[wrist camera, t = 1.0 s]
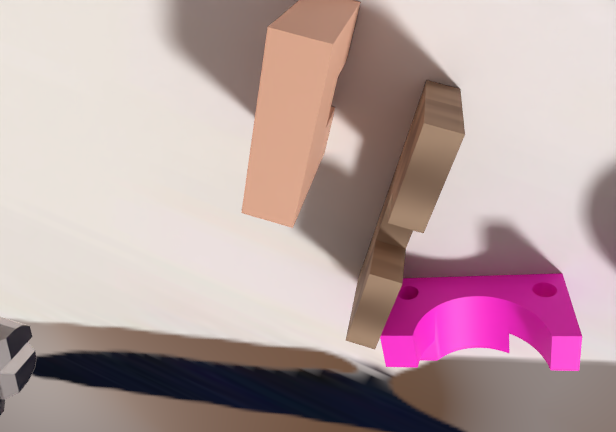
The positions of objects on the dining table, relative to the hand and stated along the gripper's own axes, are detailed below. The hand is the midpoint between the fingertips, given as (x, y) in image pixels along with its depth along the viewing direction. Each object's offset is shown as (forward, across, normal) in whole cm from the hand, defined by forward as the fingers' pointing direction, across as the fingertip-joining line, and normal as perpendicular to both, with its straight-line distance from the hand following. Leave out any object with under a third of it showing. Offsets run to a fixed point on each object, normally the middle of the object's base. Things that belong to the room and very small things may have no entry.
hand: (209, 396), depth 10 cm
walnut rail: (+31, -6, +12) cm, 33 cm away
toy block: (+31, -15, +21) cm, 41 cm away
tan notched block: (+31, +3, +4) cm, 31 cm away
